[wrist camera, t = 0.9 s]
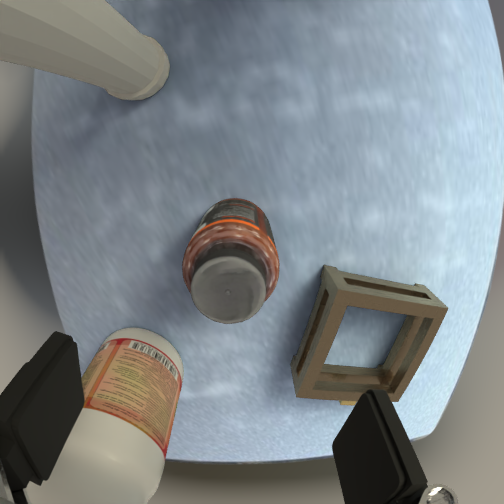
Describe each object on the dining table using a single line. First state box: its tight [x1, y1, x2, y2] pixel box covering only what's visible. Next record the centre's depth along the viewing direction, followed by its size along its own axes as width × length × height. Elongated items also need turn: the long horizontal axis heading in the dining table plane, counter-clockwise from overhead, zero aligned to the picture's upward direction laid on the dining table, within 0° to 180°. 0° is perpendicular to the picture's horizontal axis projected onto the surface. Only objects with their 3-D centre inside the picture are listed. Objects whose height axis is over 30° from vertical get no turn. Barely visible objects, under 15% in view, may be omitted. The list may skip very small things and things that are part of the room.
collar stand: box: [290, 265, 448, 405], centre depth 28 cm, size 12×11×5 cm
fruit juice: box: [26, 328, 184, 504], centre depth 18 cm, size 9×9×28 cm
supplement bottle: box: [182, 198, 279, 324], centre depth 22 cm, size 6×6×11 cm
